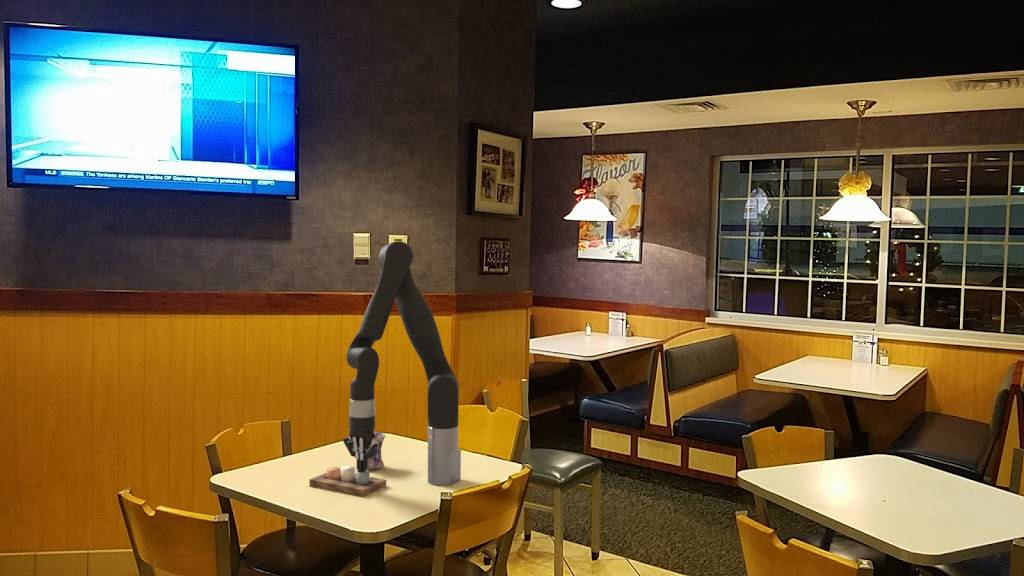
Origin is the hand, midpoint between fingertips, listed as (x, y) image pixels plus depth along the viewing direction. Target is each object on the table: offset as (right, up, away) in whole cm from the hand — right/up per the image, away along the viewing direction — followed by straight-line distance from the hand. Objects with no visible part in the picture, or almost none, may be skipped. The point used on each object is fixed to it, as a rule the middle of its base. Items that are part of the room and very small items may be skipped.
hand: (361, 471), depth 234 cm
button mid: (-5, -3, +2) cm, 6 cm away
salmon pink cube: (-10, -4, +5) cm, 12 cm away
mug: (-2, -4, +22) cm, 22 cm away
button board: (-5, -5, +3) cm, 7 cm away
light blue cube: (0, -4, 0) cm, 4 cm away
